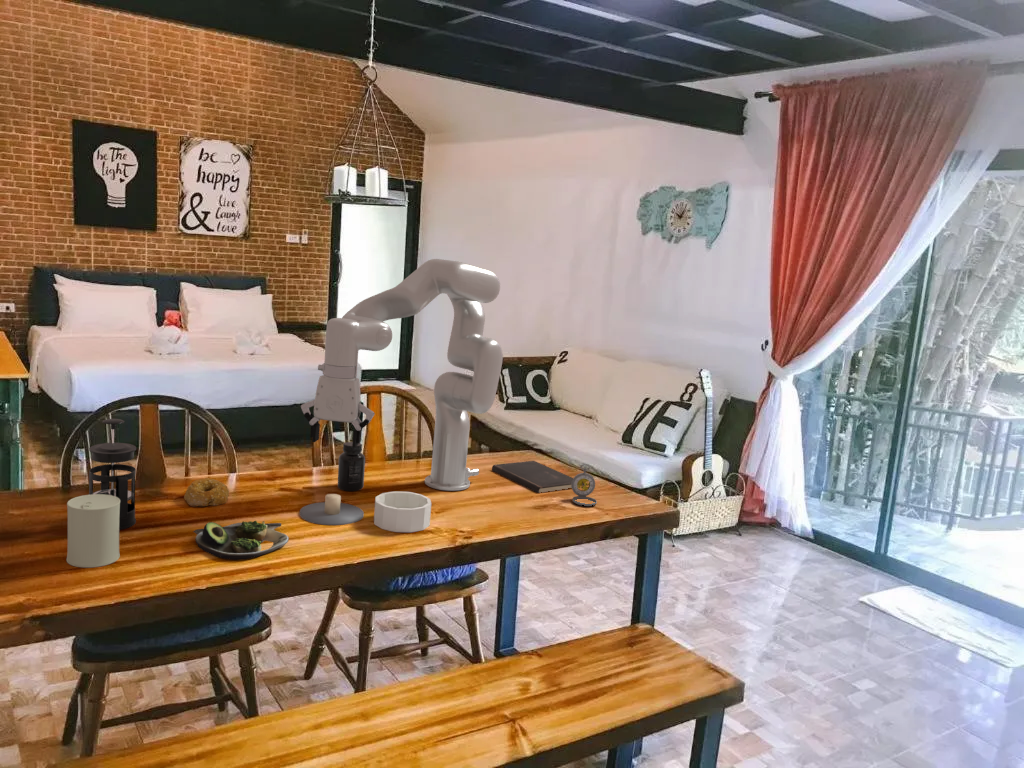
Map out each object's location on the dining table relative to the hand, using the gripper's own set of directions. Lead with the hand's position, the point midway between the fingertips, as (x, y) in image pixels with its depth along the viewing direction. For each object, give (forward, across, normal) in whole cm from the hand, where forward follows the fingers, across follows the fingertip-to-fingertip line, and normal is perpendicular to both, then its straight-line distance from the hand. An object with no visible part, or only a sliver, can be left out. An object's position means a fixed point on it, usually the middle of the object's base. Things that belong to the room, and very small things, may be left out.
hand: (335, 443), depth 191 cm
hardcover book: (+18, +47, +50) cm, 71 cm away
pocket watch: (+17, +61, +33) cm, 71 cm away
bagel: (+18, -30, -1) cm, 35 cm away
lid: (+18, 0, 0) cm, 18 cm away
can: (+18, -35, -39) cm, 56 cm away
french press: (+18, -42, -22) cm, 50 cm away
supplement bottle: (+18, -1, +22) cm, 28 cm away
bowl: (+17, +17, 0) cm, 24 cm away
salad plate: (+18, -12, -24) cm, 33 cm away
